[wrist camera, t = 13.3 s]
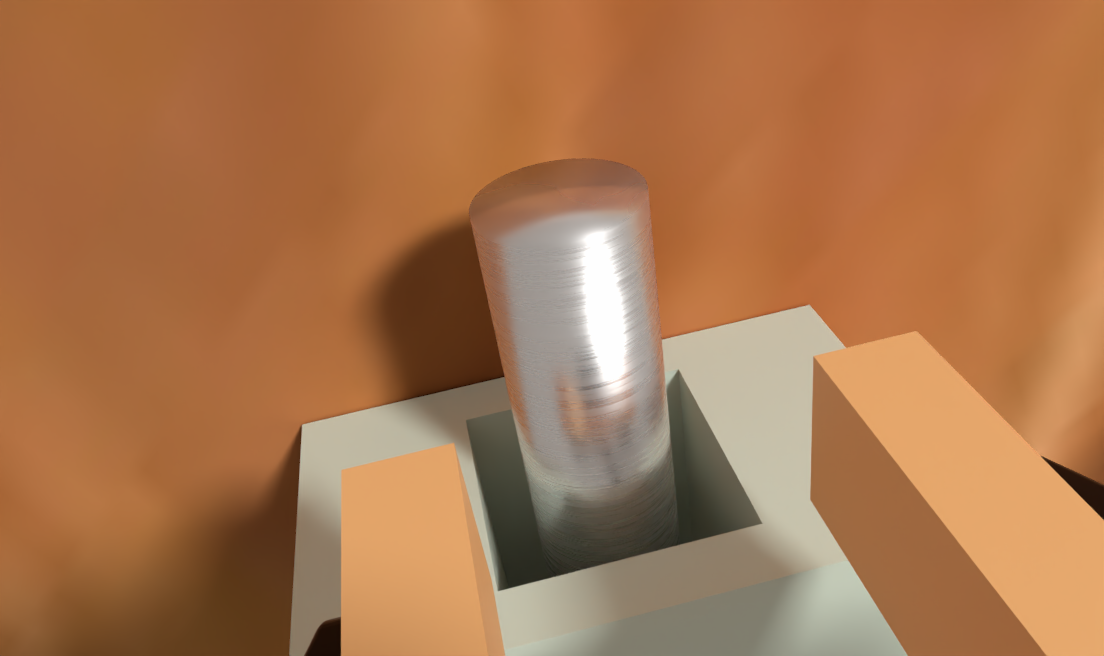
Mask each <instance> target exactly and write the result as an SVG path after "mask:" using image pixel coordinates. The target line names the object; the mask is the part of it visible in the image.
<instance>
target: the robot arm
mask: <svg viewBox="0 0 1104 656" xmlns="http://www.w3.org/2000/svg"><path fill="white" fill-rule="evenodd" d="M1041 457H1042V456H1041ZM1042 458H1043V459H1044V460H1045V461H1046V462H1047V463H1048V464H1049V465H1050V466H1051V467H1052V468H1053V469H1054V470H1055V471H1056V472H1057V473H1058V474H1059V475H1060V476H1061V477H1062V478H1063V479H1064V480H1065V481H1066V482H1067V483H1068V484H1069V485H1070V486H1071V487H1072V488H1073V490H1074V491H1075V492H1076V493H1077V494H1078V495H1079V496H1080V497H1081V498H1082V499H1083V500H1084V501H1085V502H1086V503H1087V504H1088V505H1089V506H1090V507H1091V508H1092V509H1093V510H1094V511H1095V512H1096V513H1097V514H1098V515H1099V516H1100V517H1101V518H1102V519H1103V520H1104V485H1103V484H1101V483H1098V482H1096V481H1094V480H1092V479H1090V478H1088V477H1086V476H1083V475H1081V474H1079V473H1077V472H1075V471H1073V470H1070V469H1068V468H1066V467H1064V466H1062V465H1060V464H1058V463H1055V462H1053V461H1051V460H1049V459H1047V458H1045V457H1042ZM304 656H341V617H337V618H333V619H329V620H326V621H324V622H323V623H322V624H321V625H320V626H319V627H318V629H317V630H316V632H315V634H314V637H313V639H312V641H311V643H310V645H309V647H308V649H307V651H306V653H305V655H304Z"/></svg>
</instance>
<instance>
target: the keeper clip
mask: <svg viewBox="0 0 1104 656" xmlns="http://www.w3.org/2000/svg"><path fill="white" fill-rule="evenodd" d="M810 500H811V502H812V503H813V505H814V506H815V508H816V510H817V511H818V513H819V514H820V516H821V518H822V519H823V521H824V522H825V524H826V526H827V527H828V529H829V530H830V532H831V534H832V535H833V537H834V538H835V540H836V542H837V543H838V545H839V546H840V548H841V550H842V551H843V553H844V554H845V556H846V558H847V559H848V561H849V562H850V564H851V566H852V567H853V569H854V570H855V572H856V574H857V575H858V577H859V578H860V580H861V582H862V583H863V585H864V586H865V588H866V590H867V591H868V593H869V594H870V596H871V598H872V599H873V601H874V602H875V604H876V606H877V607H878V609H879V610H880V612H881V614H882V615H883V617H884V618H885V620H886V622H887V623H888V625H889V626H890V628H891V630H892V631H893V633H894V634H895V636H896V638H897V639H898V641H899V642H900V644H901V646H902V647H903V649H904V650H905V652H906V654H907V655H908V656H1104V520H1103V519H1102V518H1101V517H1100V516H1099V515H1098V514H1097V513H1096V512H1095V511H1094V510H1093V509H1092V508H1091V507H1090V506H1089V505H1088V504H1087V503H1086V502H1085V501H1084V500H1083V499H1082V498H1081V497H1080V496H1079V495H1078V494H1077V493H1076V492H1075V491H1074V490H1073V488H1072V487H1071V486H1070V485H1069V484H1068V483H1067V482H1066V481H1065V480H1064V479H1063V478H1062V477H1061V476H1060V475H1059V474H1058V473H1057V472H1056V471H1055V470H1054V469H1053V468H1052V467H1051V466H1050V465H1049V464H1048V463H1047V462H1046V461H1045V460H1044V459H1043V458H1042V457H1041V456H1040V455H1039V454H1038V453H1037V452H1036V451H1035V450H1034V449H1033V448H1032V447H1031V446H1030V445H1029V444H1028V443H1027V442H1026V441H1025V440H1024V439H1023V438H1022V437H1021V436H1020V435H1019V434H1018V433H1017V432H1016V431H1015V430H1014V429H1013V428H1012V427H1011V426H1010V425H1009V424H1008V423H1007V422H1006V421H1005V420H1004V419H1003V418H1002V417H1001V416H1000V415H999V414H998V413H997V412H996V411H995V410H994V409H993V408H992V407H991V406H990V405H989V404H988V403H987V402H986V401H985V400H984V399H983V398H982V397H981V396H980V395H979V394H978V393H977V392H976V391H975V390H974V389H973V388H972V386H971V385H970V384H969V383H968V382H967V381H966V380H965V379H964V378H963V377H962V376H961V375H960V374H959V373H958V372H957V371H956V370H955V369H954V368H953V367H952V366H951V365H950V364H949V363H948V362H947V361H946V360H945V359H944V358H943V357H942V356H941V355H940V354H939V353H938V352H937V351H936V350H935V349H934V348H933V347H932V346H931V345H930V344H929V343H928V342H927V341H926V340H925V339H924V338H923V337H922V336H921V335H920V334H919V333H918V332H917V331H915V332H911V333H907V334H902V335H898V336H894V337H890V338H886V339H882V340H878V341H873V342H869V343H865V344H861V345H857V346H853V347H849V348H844V349H840V350H836V351H832V352H828V353H824V354H820V355H815V356H813V396H812V441H811V486H810ZM341 656H505V651H504V646H503V640H502V634H501V629H500V623H499V618H498V612H497V607H496V601H495V595H494V590H493V584H492V579H491V576H490V572H489V568H488V565H487V561H486V558H485V554H484V550H483V547H482V543H481V539H480V536H479V532H478V528H477V525H476V521H475V517H474V514H473V510H472V506H471V503H470V499H469V496H468V492H467V488H466V485H465V481H464V477H463V474H462V470H461V466H460V463H459V459H458V455H457V452H456V448H455V444H454V443H451V444H447V445H442V446H438V447H434V448H430V449H426V450H422V451H418V452H413V453H409V454H405V455H401V456H397V457H393V458H389V459H384V460H380V461H376V462H372V463H368V464H364V465H360V466H355V467H351V468H347V469H343V470H341Z"/></svg>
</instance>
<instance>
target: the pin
mask: <svg viewBox="0 0 1104 656" xmlns="http://www.w3.org/2000/svg"><path fill="white" fill-rule="evenodd" d="M469 216H470V221H471V226H472V230H473V235H474V239H475V244H476V248H477V253H478V258H479V262H480V267H481V271H482V276H483V281H484V285H485V290H486V294H487V299H488V303H489V308H490V313H491V317H492V322H493V326H494V331H495V336H496V340H497V345H498V349H499V354H500V358H501V363H502V368H503V372H504V377H505V381H506V386H507V391H508V395H509V400H510V404H511V409H512V413H513V418H514V423H515V427H516V432H517V436H518V441H519V445H520V450H521V455H522V459H523V464H524V468H525V473H526V478H527V482H528V487H529V491H530V496H531V500H532V505H533V510H534V514H535V519H536V523H537V528H538V533H539V537H540V542H541V546H542V551H543V555H544V560H545V565H546V569H547V574H548V578H552V577H556V576H560V575H564V574H568V573H572V572H576V571H580V570H583V569H587V568H591V567H595V566H599V565H603V564H607V563H611V562H615V561H619V560H622V559H626V558H630V557H634V556H638V555H642V554H646V553H650V552H654V551H658V550H661V549H665V548H669V547H673V546H677V545H680V534H679V523H678V512H677V501H676V490H675V479H674V468H673V457H672V446H671V435H670V424H669V414H668V403H667V392H666V381H665V370H664V359H663V348H662V337H661V326H660V315H659V304H658V293H657V282H656V271H655V260H654V249H653V238H652V227H651V216H650V205H649V194H648V186H647V182H646V180H645V178H644V177H643V176H642V175H641V174H640V173H639V172H637V171H636V170H634V169H633V168H631V167H629V166H626V165H623V164H621V163H617V162H613V161H608V160H601V159H585V158H582V159H563V160H555V161H549V162H544V163H539V164H535V165H531V166H528V167H524V168H521V169H518V170H516V171H513V172H510V173H508V174H506V175H504V176H502V177H500V178H498V179H496V180H494V181H493V182H491V183H490V184H488V185H487V186H485V187H484V188H483V189H482V190H481V191H480V192H479V193H478V194H477V195H476V196H475V197H474V199H473V200H472V202H471V204H470V208H469Z"/></svg>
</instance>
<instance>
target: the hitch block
mask: <svg viewBox="0 0 1104 656" xmlns="http://www.w3.org/2000/svg"><path fill="white" fill-rule="evenodd" d="M662 348H663V359H664V370H665V381H666V392H667V403H668V414H669V424H670V435H671V446H672V457H673V468H674V479H675V490H676V501H677V512H678V523H679V534H680V545H677V546H673V547H669V548H665V549H661V550H658V551H654V552H650V553H646V554H642V555H638V556H634V557H630V558H626V559H622V560H619V561H615V562H611V563H607V564H603V565H599V566H595V567H591V568H587V569H583V570H580V571H576V572H572V573H568V574H564V575H560V576H556V577H552V578H548V574H547V569H546V565H545V560H544V555H543V551H542V546H541V542H540V537H539V533H538V528H537V523H536V519H535V514H534V510H533V505H532V500H531V496H530V491H529V487H528V482H527V478H526V473H525V468H524V464H523V459H522V455H521V450H520V445H519V441H518V436H517V432H516V427H515V423H514V418H513V413H512V409H511V404H510V400H509V395H508V391H507V386H506V381H505V377H502V378H498V379H493V380H489V381H485V382H481V383H477V384H472V385H468V386H464V387H460V388H455V389H451V390H447V391H443V392H438V393H434V394H430V395H426V396H421V397H417V398H413V399H409V400H405V401H400V402H396V403H392V404H388V405H383V406H379V407H375V408H371V409H366V410H362V411H358V412H354V413H349V414H345V415H341V416H337V417H333V418H328V419H324V420H320V421H316V422H311V423H307V424H303V425H302V437H301V455H300V473H299V490H298V508H297V526H296V544H295V562H294V579H293V597H292V615H291V633H290V650H289V656H304V655H305V653H306V651H307V649H308V647H309V645H310V643H311V641H312V639H313V637H314V634H315V632H316V630H317V629H318V627H319V626H320V625H321V624H322V623H323V622H324V621H326V620H329V619H333V618H337V617H341V470H343V469H347V468H351V467H355V466H360V465H364V464H368V463H372V462H376V461H380V460H384V459H389V458H393V457H397V456H401V455H405V454H409V453H413V452H418V451H422V450H426V449H430V448H434V447H438V446H442V445H447V444H451V443H454V444H455V448H456V452H457V455H458V459H459V463H460V466H461V470H462V474H463V477H464V481H465V485H466V488H467V492H468V496H469V499H470V503H471V506H472V510H473V514H474V517H475V521H476V525H477V528H478V532H479V536H480V539H481V543H482V547H483V550H484V554H485V558H486V561H487V565H488V568H489V572H490V576H491V579H492V584H493V590H494V595H495V601H496V607H497V612H498V618H499V623H500V629H501V634H502V640H503V646H504V651H505V656H908V655H907V654H906V652H905V650H904V649H903V647H902V646H901V644H900V642H899V641H898V639H897V638H896V636H895V634H894V633H893V631H892V630H891V628H890V626H889V625H888V623H887V622H886V620H885V618H884V617H883V615H882V614H881V612H880V610H879V609H878V607H877V606H876V604H875V602H874V601H873V599H872V598H871V596H870V594H869V593H868V591H867V590H866V588H865V586H864V585H863V583H862V582H861V580H860V578H859V577H858V575H857V574H856V572H855V570H854V569H853V567H852V566H851V564H850V562H849V561H848V559H847V558H846V556H845V554H844V553H843V551H842V550H841V548H840V546H839V545H838V543H837V542H836V540H835V538H834V537H833V535H832V534H831V532H830V530H829V529H828V527H827V526H826V524H825V522H824V521H823V519H822V518H821V516H820V514H819V513H818V511H817V510H816V508H815V506H814V505H813V503H812V502H811V500H810V486H811V441H812V396H813V356H815V355H820V354H824V353H828V352H832V351H836V350H840V349H844V348H846V347H845V346H844V345H843V344H842V343H841V342H840V340H839V339H838V338H837V337H836V336H835V334H834V333H833V332H832V331H831V330H830V328H829V327H828V326H827V325H826V324H825V323H824V321H823V320H822V319H821V318H820V317H819V315H818V314H817V313H816V312H815V311H814V310H813V308H812V307H811V306H810V305H807V306H803V307H798V308H794V309H790V310H786V311H781V312H777V313H773V314H769V315H765V316H760V317H756V318H752V319H748V320H743V321H739V322H735V323H731V324H726V325H722V326H718V327H714V328H709V329H705V330H701V331H697V332H693V333H688V334H684V335H680V336H676V337H671V338H667V339H663V340H662Z"/></svg>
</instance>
